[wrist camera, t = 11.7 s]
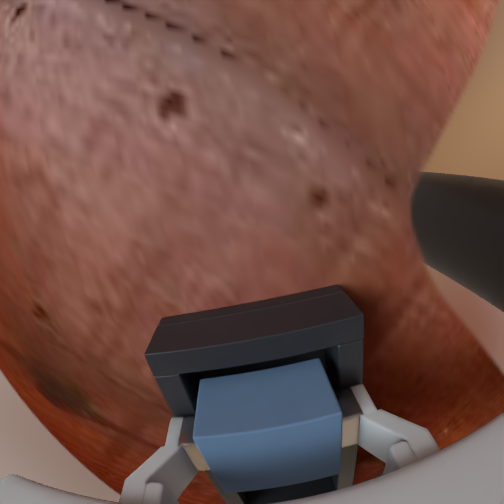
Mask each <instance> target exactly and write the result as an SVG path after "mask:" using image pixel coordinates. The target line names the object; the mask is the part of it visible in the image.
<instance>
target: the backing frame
mask: <svg viewBox="0 0 504 504" xmlns="http://www.w3.org/2000/svg"><path fill="white" fill-rule="evenodd" d="M363 338H364V314H363V313H362V312H361V310H360V309H359V308H358V307H357V306H356V304H355V303H354V302H353V301H352V300H351V298H350V297H349V296H348V295H347V294H346V292H344V291H343V290H342V288H341V287H340V286H339V285H334V286H330V287H326V288H321V289H316V290H312V291H307V292H302V293H298V294H293V295H288V296H283V297H278V298H273V299H268V300H263V301H258V302H253V303H247V304H242V305H236V306H231V307H225V308H220V309H214V310H208V311H202V312H196V313H190V314H184V315H178V316H171V317H165V318H162V319H161V320H160V323H159V325H158V327H157V328H156V330H155V332H154V334H153V337H152V339H151V341H150V343H149V345H148V348H147V350H146V352H145V357H146V360H147V362H148V364H149V367H150V369H151V371H152V373H153V375H154V376H155V379H156V381H157V384H158V386H159V388H160V390H161V392H162V394H163V396H164V398H165V400H166V402H167V404H168V406H169V408H170V410H171V412H172V414H173V416H174V417H184V416H195V414H196V406H197V399H198V391H199V384H200V380H201V379H206V378H214V377H221V376H228V375H234V374H241V373H247V372H253V371H258V370H264V369H269V368H274V367H279V366H284V365H289V364H294V363H298V362H303V361H307V360H312V359H316V358H319V359H320V360H321V362H322V365H323V367H324V369H325V372H326V374H327V376H328V379H329V381H330V383H331V386H332V388H333V391H338V390H342V389H345V388H348V387H349V388H350V387H352V386H355V385H358V384H363V353H364V339H363ZM357 449H358V444H354V445H351V446H347V447H343V448H342V454H341V472H340V473H339V474H337V475H333V476H329V477H325V478H321V479H317V480H312V481H308V482H303V483H298V484H293V485H288V486H282V487H276V488H269V489H262V490H254V491H244V492H233V493H225V492H224V491H223V489H222V488H221V486H220V484H219V483H218V481H217V480H216V478H215V476H214V475H213V473H212V472H211V470H205V472H206V473H207V475H208V477H209V478H210V480H211V481H212V483H213V484H214V486H215V487H216V489H217V490H218V492H219V493H220V495H221V496H222V498H223V499H224V500H225V502H226V503H227V504H270V503H277V502H284V501H289V500H295V499H300V498H305V497H310V496H315V495H319V494H323V493H327V492H331V491H335V490H339V489H342V488H346V487H349V486H352V485H353V479H354V472H355V465H356V457H357Z"/></svg>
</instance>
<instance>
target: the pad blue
mask: <svg viewBox="0 0 504 504" xmlns="http://www.w3.org/2000/svg"><path fill="white" fill-rule="evenodd" d="M342 425H343V412H342V410H341V407H340V405H339V402H338V400H337V398H336V395H335V393H334V391H333V388H332V386H331V383H330V381H329V379H328V376H327V374H326V372H325V369H324V367H323V365H322V362H321V360H320V359H319V358H316V359H312V360H307V361H303V362H298V363H294V364H289V365H284V366H279V367H274V368H269V369H264V370H258V371H253V372H247V373H241V374H234V375H228V376H221V377H214V378H206V379H201V380H200V384H199V391H198V399H197V406H196V414H195V422H194V430H193V440H194V442H195V444H196V446H197V447H198V449H199V451H200V453H201V455H202V456H203V458H204V460H205V461H206V463H207V465H208V467H209V468H210V470H211V472H212V473H213V475H214V476H215V478H216V480H217V481H218V483H219V484H220V486H221V488H222V489H223V491H224V492H225V493H233V492H244V491H254V490H262V489H269V488H276V487H282V486H288V485H293V484H298V483H303V482H308V481H312V480H317V479H321V478H325V477H329V476H333V475H337V474H339V473H340V472H341V454H342Z"/></svg>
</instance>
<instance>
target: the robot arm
mask: <svg viewBox="0 0 504 504" xmlns="http://www.w3.org/2000/svg"><path fill="white" fill-rule="evenodd" d="M334 393H335V395H336V398H337V400H338V402H339V405H340V407H341V410H342V412H343V425H342V448H343V447H347V446H351V445H354V444H358V445H359V446H361V447H362V448H363V449H365V450H366V451H368V452H369V453H371V454H372V455H374V456H375V457H377V458H378V459H380V460H381V461H383V462H385V463H386V464H385V468H384V471H383V474H382V476H380V477H377V478H374V479H371V480H368V481H365V482H362V483H359V484H356V485H353V486H349V487H346V488H342V489H339V490H335V491H331V492H327V493H323V494H319V495H315V496H310V497H305V498H300V499H295V500H289V501H284V502H277V503H270V504H504V412H502V413H501V414H500V415H498V416H497V417H495V418H494V419H492V420H491V421H489V422H488V423H486V424H485V425H483V426H482V427H480V428H479V429H477V430H475V431H474V432H472V433H470V434H469V435H467V436H465V437H464V438H462V439H460V440H458V441H457V442H455V443H453V444H451V445H449V446H447V447H446V448H444V449H442V450H441V449H440V448H439V446H438V445H437V443H436V442H435V440H434V438H433V437H432V435H431V434H430V432H429V431H428V429H426V428H424V427H421V426H419V425H417V424H414V423H412V422H409V421H407V420H405V419H402V418H400V417H398V416H396V415H393V414H391V413H389V412H387V411H384V410H382V409H379V410H377V408H376V406H375V405H374V403H373V401H372V399H371V397H370V396H369V394H368V392H367V390H366V389H365V387H364V385H363V384H358V385H355V386H352V387H350V388H349V387H348V388H345V389H342V390H338V391H334ZM194 422H195V416H184V417H172V419H171V420H170V425H169V429H168V434H167V438H166V443H165V447H161V448H159V449H158V450H157V451H156V452H155V453H154V454H153V455H152V456H151V457H150V458H149V459H148V460H146V461H145V462H144V463H143V464H142V465H141V466H140V467H139V468H138V469H136V470H135V471H134V472H133V473H132V474H131V475H130V476H128V477H127V478H126V479H125V482H124V486H123V490H122V493H121V497H120V501H119V502H112V501H107V500H101V499H96V498H92V497H87V496H82V495H78V494H74V493H70V492H66V491H63V490H60V489H56V488H53V487H49V486H46V485H43V484H40V483H37V482H34V481H32V480H29V479H26V478H23V477H21V476H18V475H14V474H12V475H9V476H6V477H5V478H3V479H1V480H0V504H179V502H178V501H177V499H178V497H179V496H180V495H181V494H182V492H183V491H184V490H185V488H186V487H187V486H188V484H189V483H190V482H191V480H192V479H193V478H194V476H195V475H196V474H197V471H204V470H210V468H209V467H208V465H207V463H206V461H205V460H204V458H203V456H202V455H201V453H200V451H199V449H198V447H197V446H196V444H195V442H194V440H193V430H194Z"/></svg>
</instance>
